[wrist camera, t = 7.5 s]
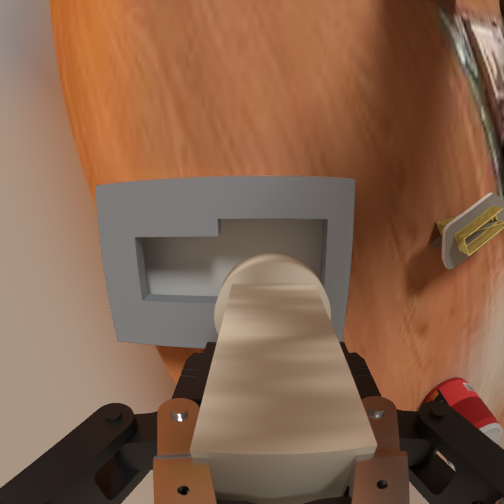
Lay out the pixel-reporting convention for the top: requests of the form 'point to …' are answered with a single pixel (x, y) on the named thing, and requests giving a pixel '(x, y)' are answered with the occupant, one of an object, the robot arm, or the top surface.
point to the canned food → (466, 406)
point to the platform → (469, 230)
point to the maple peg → (278, 390)
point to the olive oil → (502, 5)
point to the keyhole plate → (214, 246)
